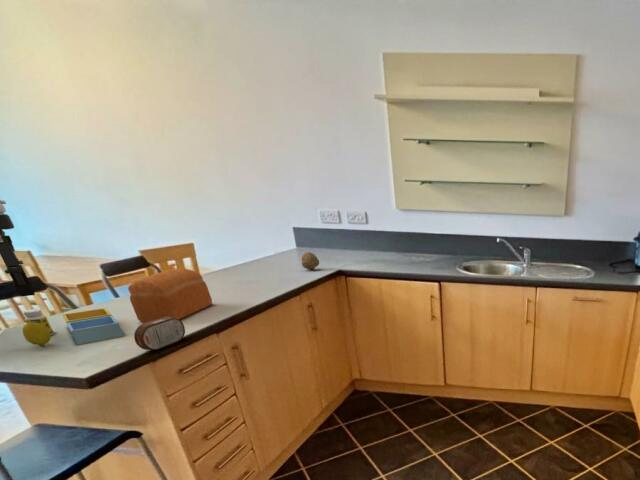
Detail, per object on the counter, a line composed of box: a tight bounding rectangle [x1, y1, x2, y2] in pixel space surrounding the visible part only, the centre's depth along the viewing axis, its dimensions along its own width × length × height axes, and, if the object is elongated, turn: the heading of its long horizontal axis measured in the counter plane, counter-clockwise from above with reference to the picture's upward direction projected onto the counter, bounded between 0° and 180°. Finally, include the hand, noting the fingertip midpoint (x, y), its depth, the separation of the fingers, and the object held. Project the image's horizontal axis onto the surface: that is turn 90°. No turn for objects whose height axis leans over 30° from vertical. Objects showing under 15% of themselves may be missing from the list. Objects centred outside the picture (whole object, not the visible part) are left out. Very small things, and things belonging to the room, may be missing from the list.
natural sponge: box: [301, 251, 320, 271], centre depth 236 cm, size 9×9×10 cm
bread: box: [127, 268, 213, 323], centre depth 159 cm, size 14×26×16 cm, turn 3°
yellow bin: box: [61, 307, 113, 324], centre depth 145 cm, size 11×11×5 cm
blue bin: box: [66, 315, 125, 345], centre depth 137 cm, size 11×11×5 cm
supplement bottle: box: [22, 308, 54, 336], centre depth 136 cm, size 5×5×8 cm
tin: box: [133, 317, 186, 351], centre depth 130 cm, size 15×3×8 cm, turn 171°
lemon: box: [21, 322, 52, 347], centre depth 128 cm, size 6×6×8 cm
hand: (26, 291), depth 122 cm, fingers open, 13 cm apart
